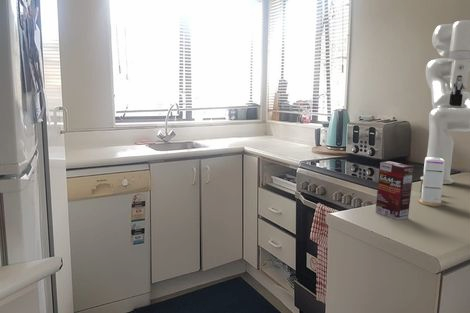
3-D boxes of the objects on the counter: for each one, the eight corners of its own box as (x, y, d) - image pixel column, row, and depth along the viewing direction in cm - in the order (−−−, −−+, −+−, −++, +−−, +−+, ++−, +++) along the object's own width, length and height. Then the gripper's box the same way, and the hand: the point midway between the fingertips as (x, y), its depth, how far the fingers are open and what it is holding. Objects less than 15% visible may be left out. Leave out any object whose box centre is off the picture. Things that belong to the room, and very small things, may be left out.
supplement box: (374, 212, 119) (379, 161, 117) (385, 210, 122) (389, 160, 119) (398, 220, 112) (403, 166, 109) (409, 218, 114) (414, 165, 112)
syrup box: (441, 203, 128) (446, 160, 125) (421, 201, 130) (425, 158, 128) (439, 199, 133) (444, 157, 131) (420, 197, 135) (424, 156, 133)
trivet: (419, 199, 136) (419, 196, 136) (441, 202, 133) (441, 199, 133) (419, 204, 130) (419, 201, 130) (442, 207, 127) (442, 204, 127)
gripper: (476, 55, 129) (469, 106, 132) (470, 58, 144) (464, 105, 147) (450, 55, 132) (444, 105, 135) (447, 59, 148) (442, 104, 151)
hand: (454, 105), depth 141 cm, fingers open, 9 cm apart
